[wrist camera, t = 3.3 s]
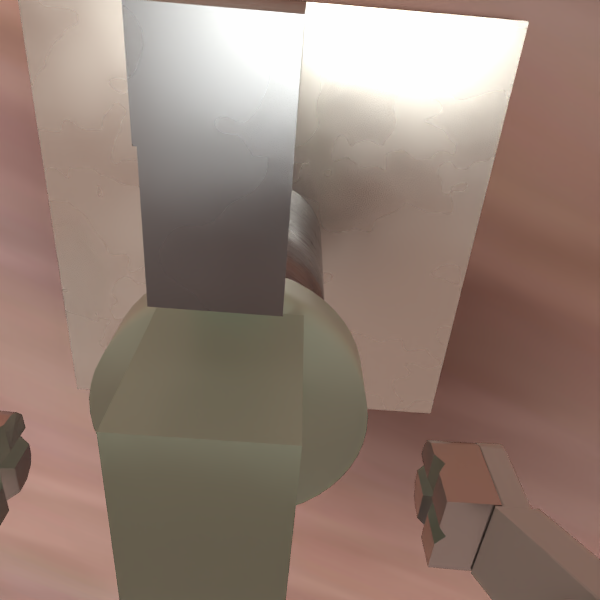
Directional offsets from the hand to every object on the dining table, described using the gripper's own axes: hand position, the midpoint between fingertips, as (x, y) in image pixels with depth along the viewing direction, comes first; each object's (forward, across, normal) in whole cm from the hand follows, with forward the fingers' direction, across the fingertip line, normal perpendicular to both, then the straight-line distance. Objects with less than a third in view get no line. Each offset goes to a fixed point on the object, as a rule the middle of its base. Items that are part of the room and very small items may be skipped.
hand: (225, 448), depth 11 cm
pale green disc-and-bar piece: (+2, 0, 0) cm, 2 cm away
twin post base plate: (+12, 0, 0) cm, 12 cm away
